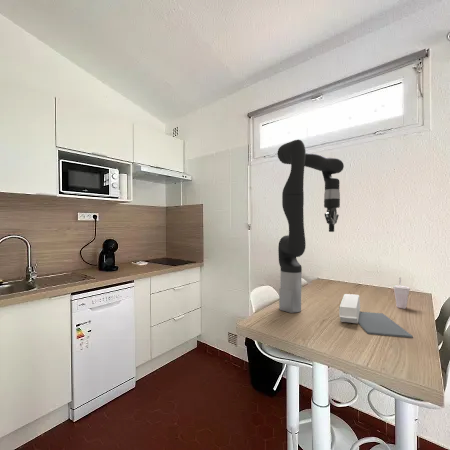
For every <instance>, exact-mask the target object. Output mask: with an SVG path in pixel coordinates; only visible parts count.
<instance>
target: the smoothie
mask: <svg viewBox="0 0 450 450" xmlns="http://www.w3.org/2000/svg"><path fill="white" fill-rule="evenodd" d="M398 279H399V281H398V282H399V284H395V285H393V286H392V287H393V290H394V292H393V293H394V297H395V305H396V308H398V309H404V310H405V309H407V306H408V298H409V292H410V291H411V287H409V286H407V285H402V283H401V282H402V277H401V276H400V277H399V278H398Z"/></svg>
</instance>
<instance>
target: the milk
mask: <svg viewBox="0 0 450 450" xmlns="http://www.w3.org/2000/svg"><path fill="white" fill-rule="evenodd" d="M338 308H339V311H338V312H339V319H340V320H339V321H340V322H341V323H342V322H343V323H349V324H351V323H352V324H358V319H359V313H360V312H361V299H360V294H354V293H353V294H352V293H344V294H343V297H342V300H341V302H340V305H339V307H338Z"/></svg>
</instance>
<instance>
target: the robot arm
mask: <svg viewBox="0 0 450 450" xmlns="http://www.w3.org/2000/svg"><path fill="white" fill-rule="evenodd" d="M277 159H278V160H279V162H281V164H284V165H290V171H289V176H288V178H287V180H286V182H285V184H284V187H283V188H282V195H281V197H282V198H281V199H282V200H281V205H282V210H283V212H284V215H285V217H286V220H287V224H288V234H287V235H284V236H282V237H281V238H280V239H279V242H278V246H277V247H278V250H277V251H278V252H277V253H278V265H279V267H280V273H279V274H280V276H279V277H280V282H279V284H280V285H279V287H280V288H279V290H278V291H279V295H278V296H279V299H278V305H279V306H278V307H279V308H278V309H279V310H280V311H283V312H287V313H289V314H294V313H300V312H301V311H302V272H303V269H302V268H303V267H302V265H301V264H300V262H299V261H298V260H297V258H299V257H301V256H302V255H304V254H305V252H306V251H305V250H306V243H307V242H306V237H305V236H306V234H305V224H304V222H305V221H304V219H305V217H304V204H305V203H304V202H305V201H304V200H305V199H304V195H305V194H304V193H305V192H304V181H305V180H304V177H305V174H304V173H305V167H306V168H310V169H313V170H315V171H316V170H317V171H319V172H321V173H322V176H323V180H324V194H323V195H324V197H323V203H324V204H323V206H324V209H326V213H324V217H325V218H324V219H325V221H326V224H327V225H328V232H330V233H334V232H335V224H337V223H338V220H339V216H340V215H339V213H338V211H337V210H338V209H339V208H341V206H340V205H341V194H340V193H341V192H340V191H341V190H340V179H339V178H337V177H333V176H332V175H335V174H339V173H341V172H342V171H343V170H344V168H345V166H344V162H343V161H342V160H341V159H339V158H336V157H326V156H324V155H322V154H317V153H306V146H305V143H304V142H303V141H302V140H301V139H295V140H292V141H288V142H286V143H284V144H282V145H280V146H279V147H278V149H277Z"/></svg>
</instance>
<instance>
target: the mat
mask: <svg viewBox="0 0 450 450" xmlns="http://www.w3.org/2000/svg"><path fill="white" fill-rule="evenodd" d="M357 324H358V325H359V326H360V328H362V330H363V331H364V332H365V333H366V334H367V335H373V336H376V335H377V336H384V337H385V336H386V337H387V336H389V337H396V338H397V337H399V338H409V339H410V338H411V339H412V338H414V337H413V335H412V334H411V333H409V332H408V331H407V330H406V329H404V328H403V327H401V326H400V325H399V324H398V323H396V322H395V321H393V319H392V318H390V317H388V316H387V315H386V314H384V313H382V312H371V311H369V312H368V311H360V313H359V319H358V323H357Z"/></svg>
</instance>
